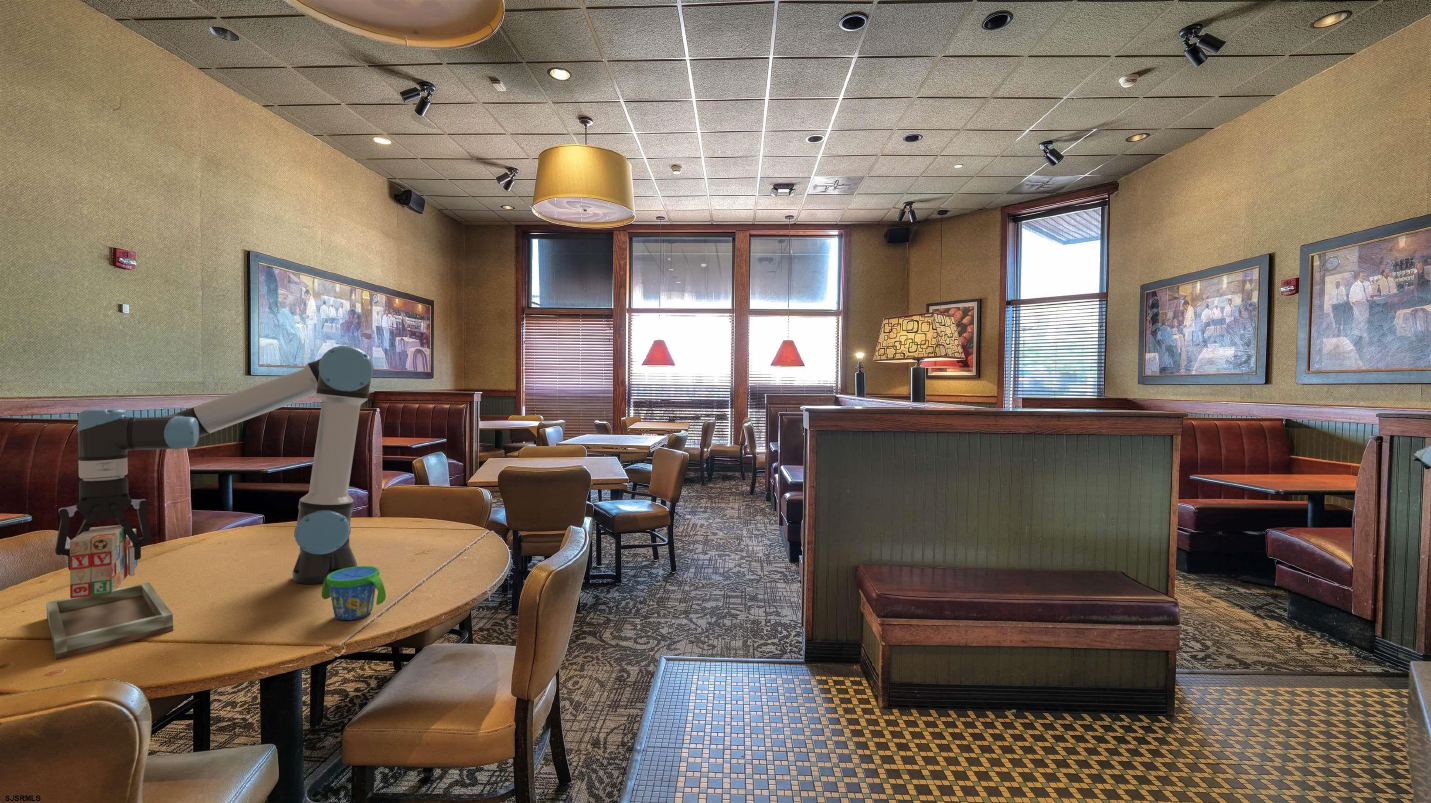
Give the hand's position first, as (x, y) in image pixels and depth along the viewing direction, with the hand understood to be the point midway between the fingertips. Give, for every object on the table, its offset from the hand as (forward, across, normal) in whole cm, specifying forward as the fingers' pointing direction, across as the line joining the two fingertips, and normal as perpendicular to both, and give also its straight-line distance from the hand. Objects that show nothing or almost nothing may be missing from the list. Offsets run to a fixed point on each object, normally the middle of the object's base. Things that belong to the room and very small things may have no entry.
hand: (105, 578), depth 129 cm
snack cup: (+10, +37, -37) cm, 53 cm away
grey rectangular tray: (+10, 0, 0) cm, 10 cm away
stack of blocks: (+1, 0, +1) cm, 1 cm away
